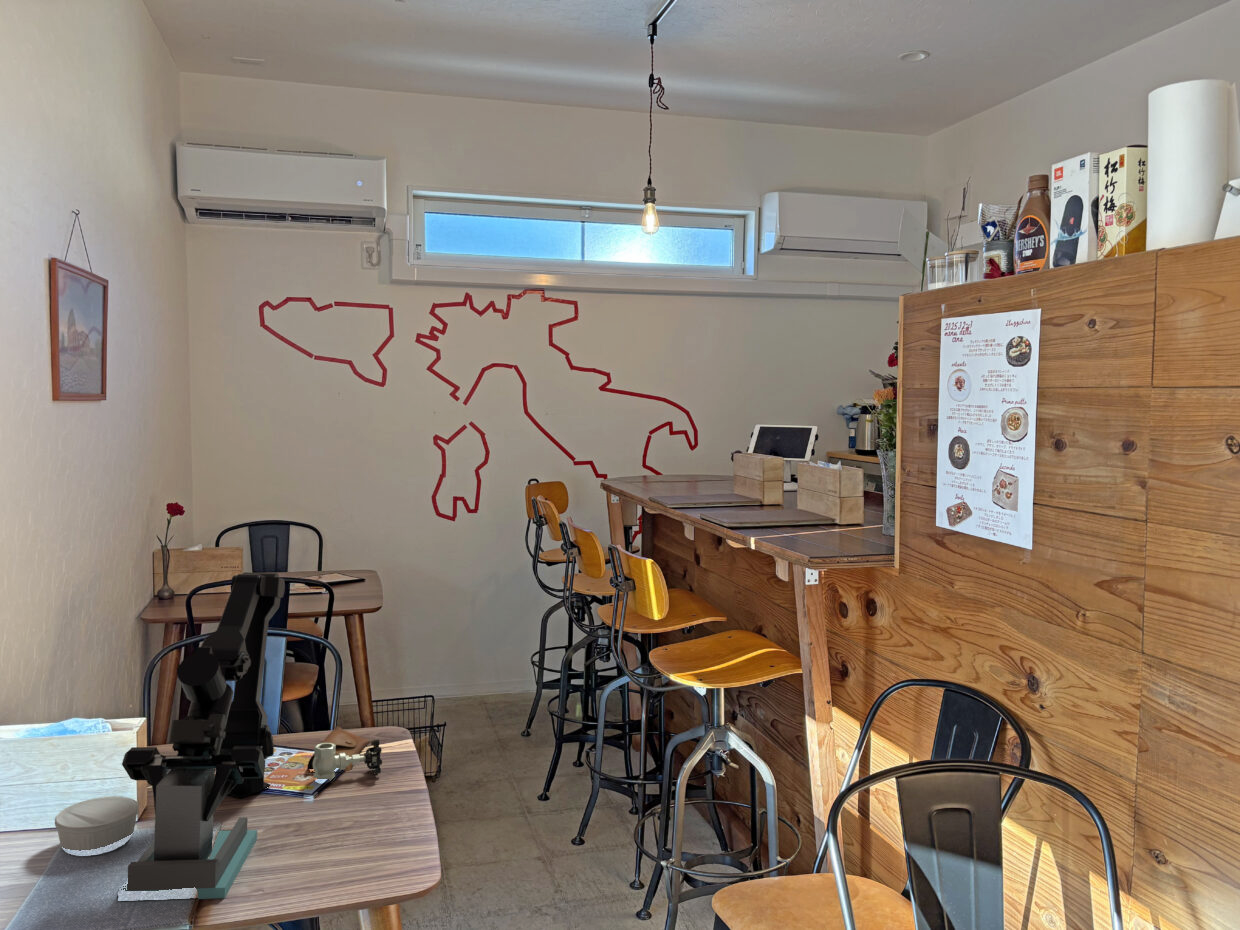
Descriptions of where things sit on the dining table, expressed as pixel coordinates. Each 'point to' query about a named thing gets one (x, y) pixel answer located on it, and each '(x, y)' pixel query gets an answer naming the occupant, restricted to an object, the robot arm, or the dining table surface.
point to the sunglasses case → (344, 744)
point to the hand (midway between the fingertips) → (181, 820)
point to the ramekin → (96, 822)
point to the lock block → (183, 815)
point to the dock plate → (196, 866)
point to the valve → (343, 760)
